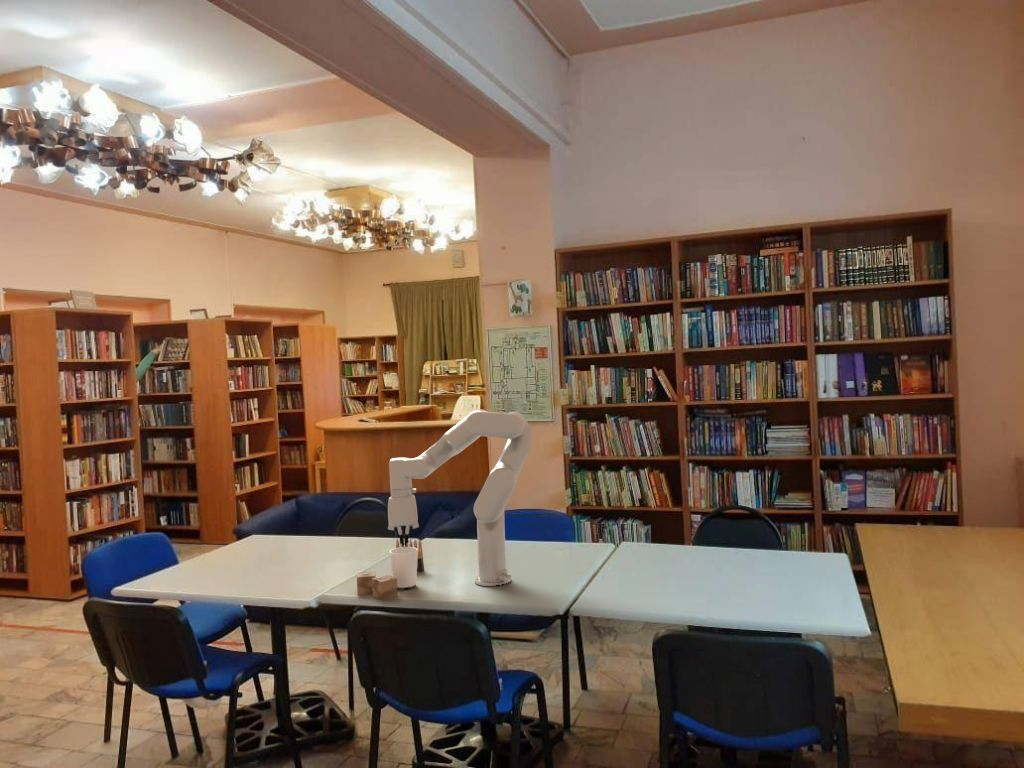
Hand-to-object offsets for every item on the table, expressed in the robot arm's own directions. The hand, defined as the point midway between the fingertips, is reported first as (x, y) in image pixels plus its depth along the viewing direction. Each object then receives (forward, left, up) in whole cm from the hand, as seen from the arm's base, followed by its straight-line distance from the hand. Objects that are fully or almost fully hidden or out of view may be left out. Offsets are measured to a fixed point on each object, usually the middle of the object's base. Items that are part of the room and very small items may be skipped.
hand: (404, 545), depth 259 cm
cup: (-3, +2, -14) cm, 14 cm away
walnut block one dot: (+2, +14, -14) cm, 20 cm away
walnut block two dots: (-7, +12, -14) cm, 20 cm away
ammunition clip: (+14, -10, -14) cm, 22 cm away
